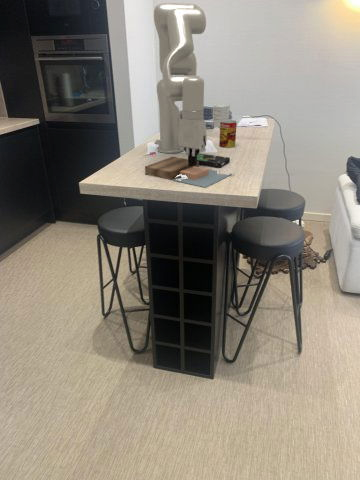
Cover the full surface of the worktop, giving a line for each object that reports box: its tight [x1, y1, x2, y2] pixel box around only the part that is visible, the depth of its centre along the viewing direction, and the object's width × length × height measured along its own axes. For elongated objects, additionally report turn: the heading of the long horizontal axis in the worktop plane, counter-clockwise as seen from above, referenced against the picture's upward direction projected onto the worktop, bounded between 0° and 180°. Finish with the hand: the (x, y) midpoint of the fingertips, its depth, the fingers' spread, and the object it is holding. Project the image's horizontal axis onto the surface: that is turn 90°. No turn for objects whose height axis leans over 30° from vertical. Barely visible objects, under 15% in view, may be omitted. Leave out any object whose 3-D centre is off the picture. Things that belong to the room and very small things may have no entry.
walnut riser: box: [144, 156, 200, 181], centre depth 147 cm, size 13×18×3 cm
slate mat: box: [172, 169, 231, 189], centre depth 140 cm, size 14×19×1 cm
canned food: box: [218, 119, 238, 149], centre depth 183 cm, size 8×8×12 cm
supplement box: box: [212, 104, 230, 129], centre depth 229 cm, size 7×7×13 cm
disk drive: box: [197, 153, 231, 169], centre depth 158 cm, size 10×3×15 cm
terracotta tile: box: [180, 166, 210, 180], centre depth 141 cm, size 7×9×2 cm
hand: (192, 165), depth 141 cm, fingers closed
